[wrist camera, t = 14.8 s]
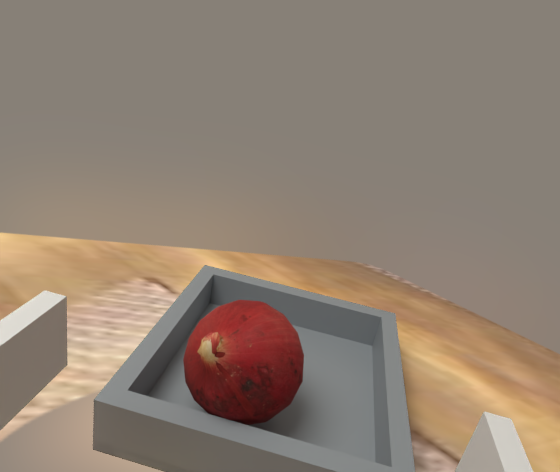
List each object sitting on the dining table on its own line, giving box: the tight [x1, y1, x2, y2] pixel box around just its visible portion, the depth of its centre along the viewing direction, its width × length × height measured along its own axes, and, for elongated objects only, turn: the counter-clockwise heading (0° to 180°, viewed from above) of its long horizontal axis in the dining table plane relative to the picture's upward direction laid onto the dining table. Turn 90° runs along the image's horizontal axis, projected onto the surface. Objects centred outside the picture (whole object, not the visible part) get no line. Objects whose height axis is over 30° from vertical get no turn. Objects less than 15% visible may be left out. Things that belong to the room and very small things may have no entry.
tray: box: [93, 265, 415, 472], centre depth 25 cm, size 14×14×3 cm
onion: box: [183, 300, 304, 425], centre depth 21 cm, size 6×6×8 cm
